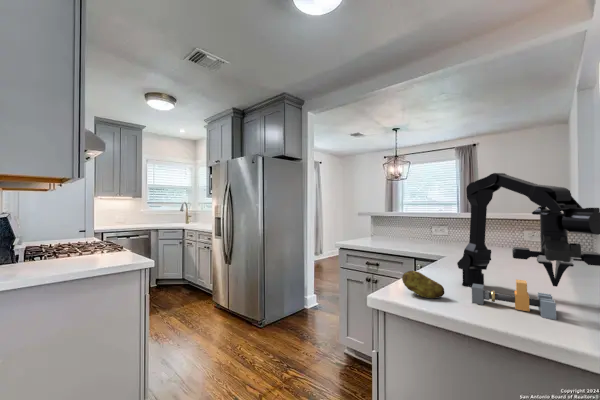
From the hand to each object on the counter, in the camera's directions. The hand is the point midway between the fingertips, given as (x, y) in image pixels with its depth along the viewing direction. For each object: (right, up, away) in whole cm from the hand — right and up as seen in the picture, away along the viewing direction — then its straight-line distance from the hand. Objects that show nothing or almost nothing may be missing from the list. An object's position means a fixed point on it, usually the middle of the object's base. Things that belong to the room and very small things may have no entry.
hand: (554, 286), depth 78 cm
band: (-12, -8, +8) cm, 17 cm away
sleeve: (-6, -8, +4) cm, 11 cm away
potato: (-30, -9, +17) cm, 36 cm away
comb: (-2, -8, +1) cm, 8 cm away
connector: (-15, -8, +11) cm, 20 cm away
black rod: (-8, -7, +6) cm, 12 cm away
